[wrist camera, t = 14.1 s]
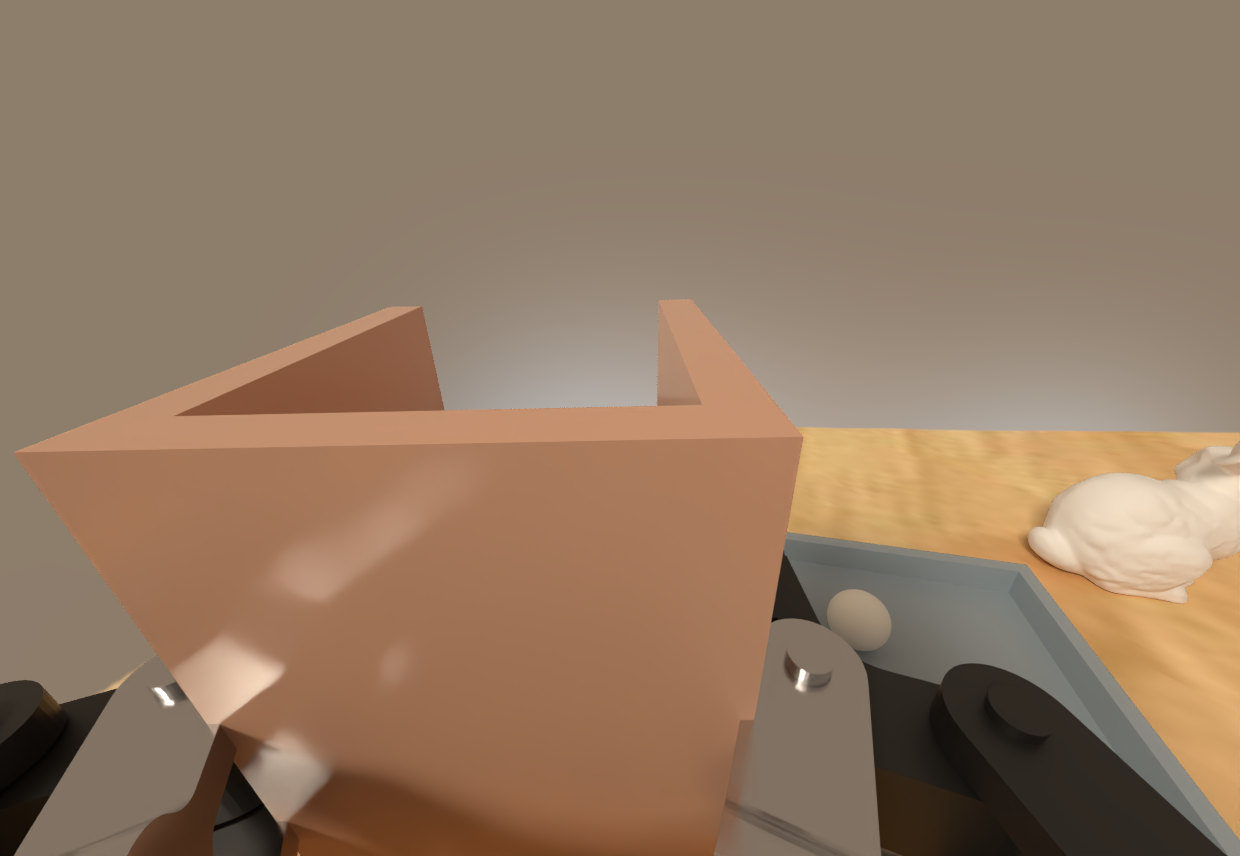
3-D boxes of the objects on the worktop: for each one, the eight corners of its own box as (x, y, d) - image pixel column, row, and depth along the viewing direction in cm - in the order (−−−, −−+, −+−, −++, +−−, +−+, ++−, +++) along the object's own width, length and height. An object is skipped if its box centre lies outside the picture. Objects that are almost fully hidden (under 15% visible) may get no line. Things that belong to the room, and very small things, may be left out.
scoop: (674, 685, 13) (691, 299, 8) (707, 989, 8) (804, 436, 3) (484, 687, 13) (389, 306, 8) (395, 988, 8) (12, 451, 3)
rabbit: (1152, 537, 35) (1242, 398, 30) (1307, 640, 27) (1471, 472, 21) (990, 533, 36) (1049, 397, 31) (1090, 630, 28) (1194, 468, 22)
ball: (916, 624, 24) (869, 636, 23) (887, 656, 26) (842, 668, 25) (873, 573, 27) (828, 582, 26) (849, 605, 29) (806, 614, 28)
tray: (1013, 591, 31) (1026, 564, 29) (1273, 973, 15) (1321, 947, 14) (750, 552, 35) (753, 527, 34) (750, 820, 20) (756, 791, 19)
